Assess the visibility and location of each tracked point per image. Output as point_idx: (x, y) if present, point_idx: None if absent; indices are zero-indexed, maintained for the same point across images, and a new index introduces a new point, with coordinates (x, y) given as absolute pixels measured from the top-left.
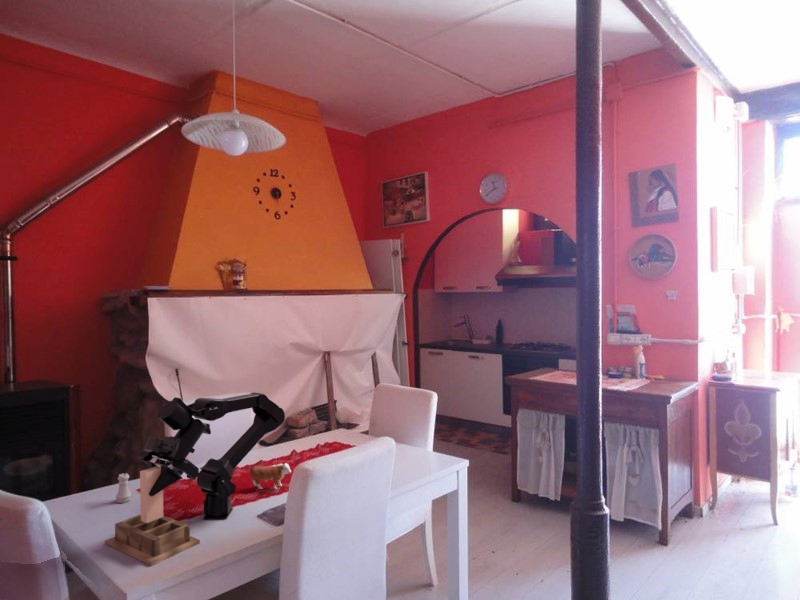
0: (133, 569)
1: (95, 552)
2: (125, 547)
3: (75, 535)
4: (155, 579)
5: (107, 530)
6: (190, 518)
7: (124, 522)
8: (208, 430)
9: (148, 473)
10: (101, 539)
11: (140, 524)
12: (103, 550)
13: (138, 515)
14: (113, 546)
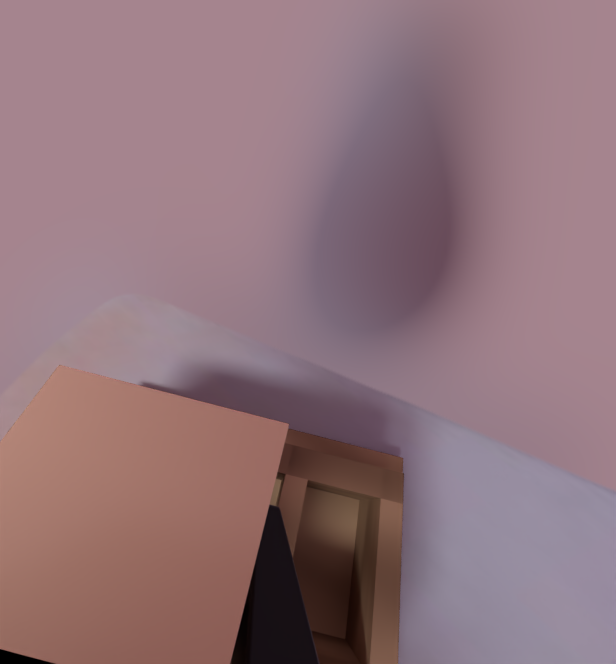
0: (179, 361)
1: (370, 405)
2: (291, 441)
3: (542, 475)
4: (76, 337)
5: (500, 559)
6: None
7: (380, 504)
8: None
9: (33, 440)
10: (441, 484)
11: (287, 513)
12: (360, 423)
13: (393, 617)
14: (346, 444)
